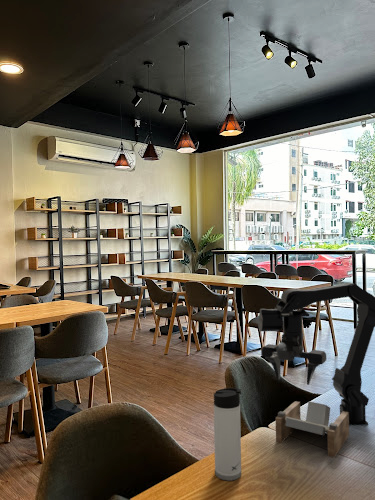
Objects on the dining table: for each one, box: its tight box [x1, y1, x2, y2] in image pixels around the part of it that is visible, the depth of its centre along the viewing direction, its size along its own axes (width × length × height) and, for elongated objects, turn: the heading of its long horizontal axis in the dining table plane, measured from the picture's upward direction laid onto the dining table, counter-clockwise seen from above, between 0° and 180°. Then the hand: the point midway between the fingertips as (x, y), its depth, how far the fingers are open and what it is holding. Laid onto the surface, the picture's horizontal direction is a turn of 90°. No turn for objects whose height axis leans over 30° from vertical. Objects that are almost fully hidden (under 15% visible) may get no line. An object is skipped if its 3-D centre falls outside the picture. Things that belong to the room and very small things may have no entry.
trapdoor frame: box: [275, 400, 350, 458], centre depth 112 cm, size 15×16×7 cm
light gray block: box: [305, 401, 331, 426], centre depth 116 cm, size 5×5×6 cm
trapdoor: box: [285, 417, 329, 437], centre depth 112 cm, size 14×12×2 cm
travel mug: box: [213, 387, 242, 482], centre depth 95 cm, size 6×7×20 cm
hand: (293, 381), depth 122 cm, fingers open, 9 cm apart
